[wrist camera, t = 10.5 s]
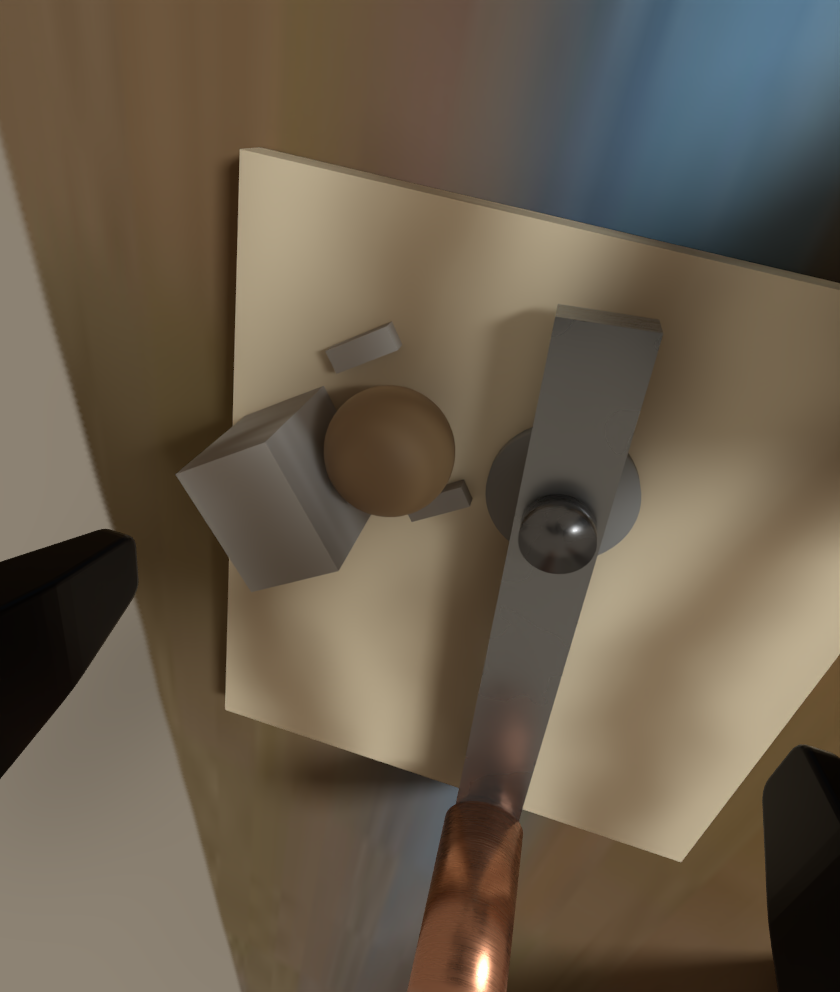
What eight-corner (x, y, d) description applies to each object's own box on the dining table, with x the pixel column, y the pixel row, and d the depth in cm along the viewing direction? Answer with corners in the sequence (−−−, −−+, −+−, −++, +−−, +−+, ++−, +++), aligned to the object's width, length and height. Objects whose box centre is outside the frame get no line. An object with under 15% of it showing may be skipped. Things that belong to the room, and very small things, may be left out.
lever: (545, 302, 16) (513, 416, 10) (672, 321, 15) (721, 453, 9) (446, 810, 27) (402, 1014, 21) (518, 831, 26) (495, 1044, 20)
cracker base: (1042, 330, 15) (1222, 414, 11) (677, 834, 27) (693, 972, 23) (260, 147, 17) (147, 155, 13) (237, 689, 29) (174, 789, 25)
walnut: (478, 385, 18) (454, 438, 15) (451, 492, 20) (425, 558, 17) (356, 353, 18) (309, 399, 15) (342, 461, 20) (297, 520, 17)
